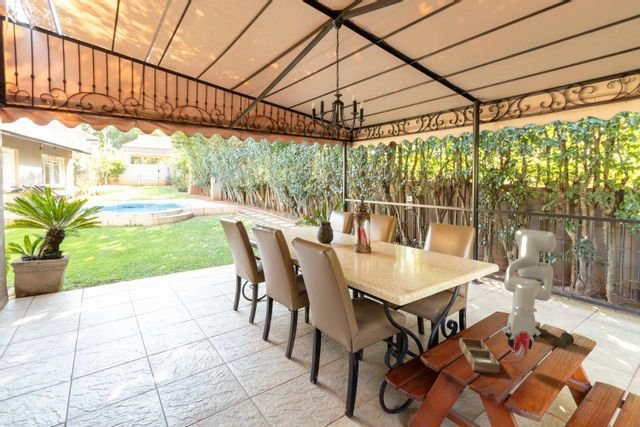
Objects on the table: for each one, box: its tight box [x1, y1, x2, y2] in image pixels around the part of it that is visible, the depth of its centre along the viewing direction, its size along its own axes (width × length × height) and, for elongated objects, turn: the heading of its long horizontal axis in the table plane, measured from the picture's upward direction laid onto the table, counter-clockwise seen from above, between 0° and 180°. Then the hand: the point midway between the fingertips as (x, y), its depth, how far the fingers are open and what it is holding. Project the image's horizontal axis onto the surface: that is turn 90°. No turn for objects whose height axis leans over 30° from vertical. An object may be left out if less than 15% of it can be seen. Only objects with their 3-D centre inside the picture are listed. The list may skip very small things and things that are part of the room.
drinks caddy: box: [458, 337, 501, 374], centre depth 149 cm, size 21×11×4 cm, turn 173°
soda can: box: [509, 332, 530, 357], centre depth 140 cm, size 7×7×12 cm
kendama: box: [535, 325, 579, 349], centre depth 166 cm, size 6×10×20 cm
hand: (519, 346), depth 141 cm, fingers closed on soda can, 7 cm apart
